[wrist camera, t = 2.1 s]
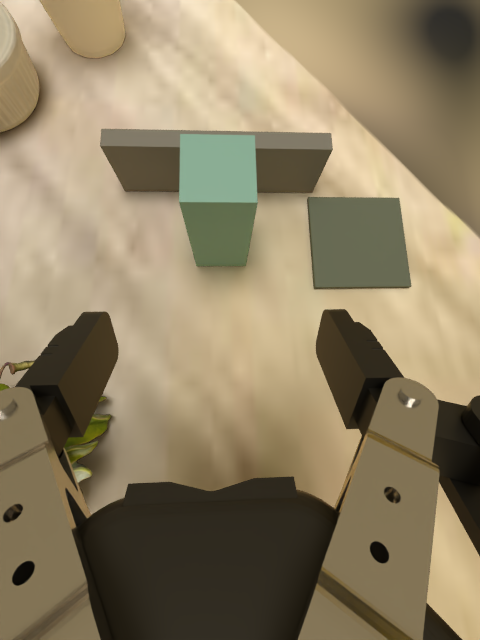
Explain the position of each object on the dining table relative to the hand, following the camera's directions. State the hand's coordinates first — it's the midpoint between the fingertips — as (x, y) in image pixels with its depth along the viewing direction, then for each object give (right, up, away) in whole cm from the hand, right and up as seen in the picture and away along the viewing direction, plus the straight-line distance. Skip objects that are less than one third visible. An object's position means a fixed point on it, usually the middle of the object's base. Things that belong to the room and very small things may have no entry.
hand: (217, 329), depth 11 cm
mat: (+12, +8, +16) cm, 22 cm away
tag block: (-1, +8, +16) cm, 18 cm away
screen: (-1, +15, +17) cm, 23 cm away
